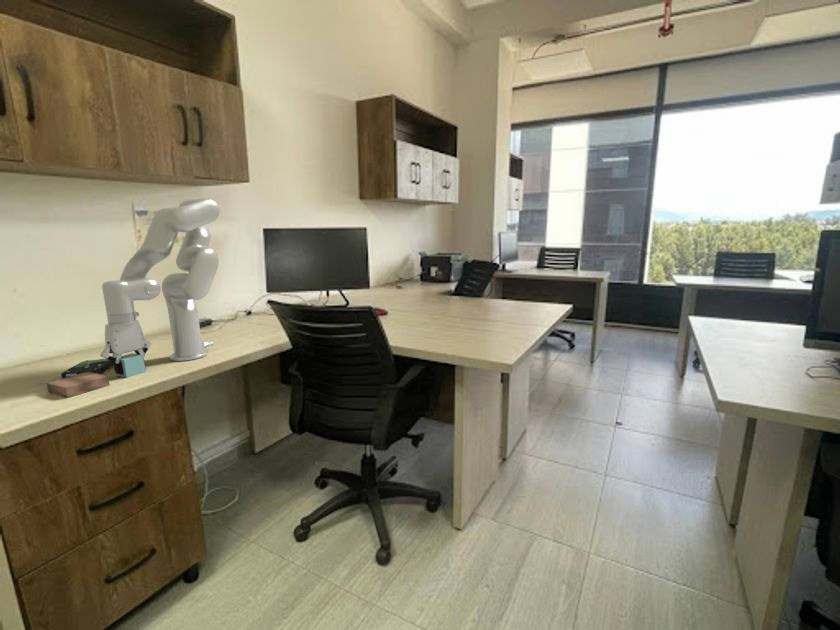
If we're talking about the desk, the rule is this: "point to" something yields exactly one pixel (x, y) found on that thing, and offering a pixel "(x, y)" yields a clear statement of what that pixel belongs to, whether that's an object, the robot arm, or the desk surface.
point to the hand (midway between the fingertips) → (130, 370)
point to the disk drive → (88, 367)
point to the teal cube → (132, 365)
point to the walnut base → (77, 384)
